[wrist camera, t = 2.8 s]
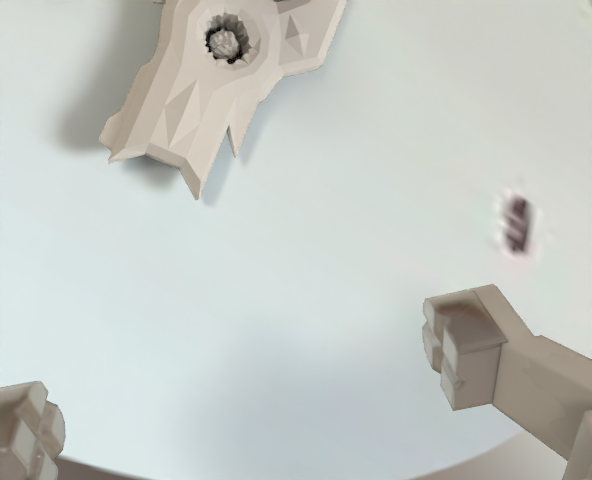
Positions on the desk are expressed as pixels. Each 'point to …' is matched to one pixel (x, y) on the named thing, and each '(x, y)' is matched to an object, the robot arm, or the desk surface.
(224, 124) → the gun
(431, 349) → the robot arm
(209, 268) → the desk surface
